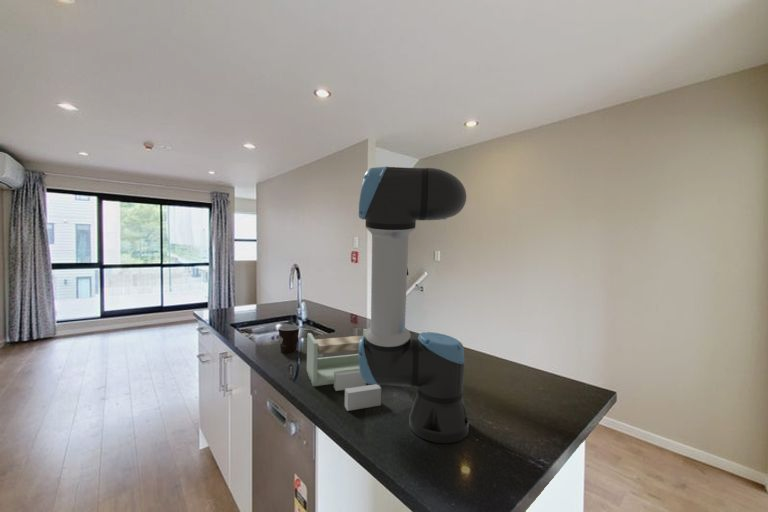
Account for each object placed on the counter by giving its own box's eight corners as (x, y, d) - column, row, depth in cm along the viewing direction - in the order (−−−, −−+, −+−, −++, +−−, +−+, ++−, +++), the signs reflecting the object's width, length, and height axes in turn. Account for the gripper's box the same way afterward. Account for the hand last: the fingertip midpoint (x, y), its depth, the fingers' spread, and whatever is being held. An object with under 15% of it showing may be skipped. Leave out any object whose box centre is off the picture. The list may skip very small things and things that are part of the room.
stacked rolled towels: (319, 353, 106) (319, 346, 106) (314, 346, 114) (314, 339, 114) (369, 348, 113) (370, 341, 113) (362, 342, 121) (362, 335, 121)
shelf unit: (377, 377, 112) (378, 337, 112) (313, 386, 104) (314, 343, 103) (365, 364, 124) (366, 328, 124) (306, 371, 116) (307, 333, 115)
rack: (380, 405, 93) (381, 388, 93) (347, 411, 89) (347, 393, 89) (362, 382, 107) (363, 368, 107) (333, 387, 104) (334, 371, 103)
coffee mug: (278, 348, 140) (278, 325, 140) (298, 347, 143) (299, 324, 142) (277, 357, 129) (278, 332, 129) (299, 355, 132) (300, 331, 131)
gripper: (419, 236, 112) (417, 296, 112) (390, 237, 135) (389, 287, 135) (399, 235, 109) (397, 297, 110) (373, 236, 132) (372, 287, 133)
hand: (392, 291), depth 123 cm, fingers open, 13 cm apart
